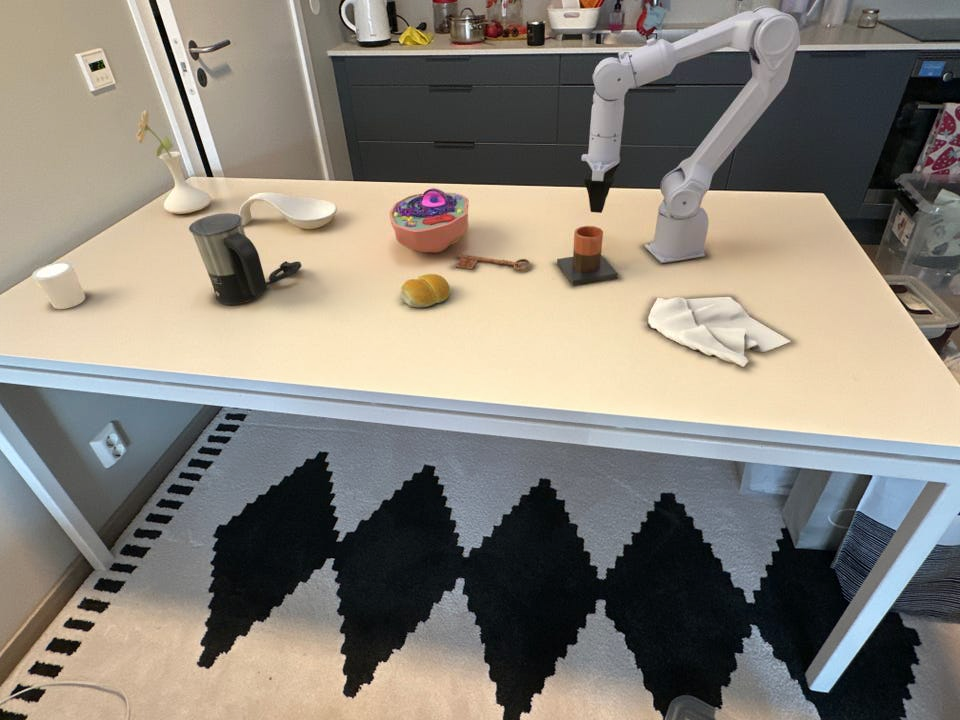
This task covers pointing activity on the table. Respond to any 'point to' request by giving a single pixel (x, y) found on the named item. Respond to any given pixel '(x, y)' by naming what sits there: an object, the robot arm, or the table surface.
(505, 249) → the table surface
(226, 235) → the milk frother
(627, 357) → the table surface
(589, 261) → the walnut ring
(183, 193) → the flower in vase
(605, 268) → the peg stand
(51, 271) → the white short cylinder
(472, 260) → the key
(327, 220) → the spoon rest
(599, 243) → the terracotta ring
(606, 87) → the robot arm
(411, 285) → the bread roll
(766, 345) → the cloth
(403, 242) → the cell model
